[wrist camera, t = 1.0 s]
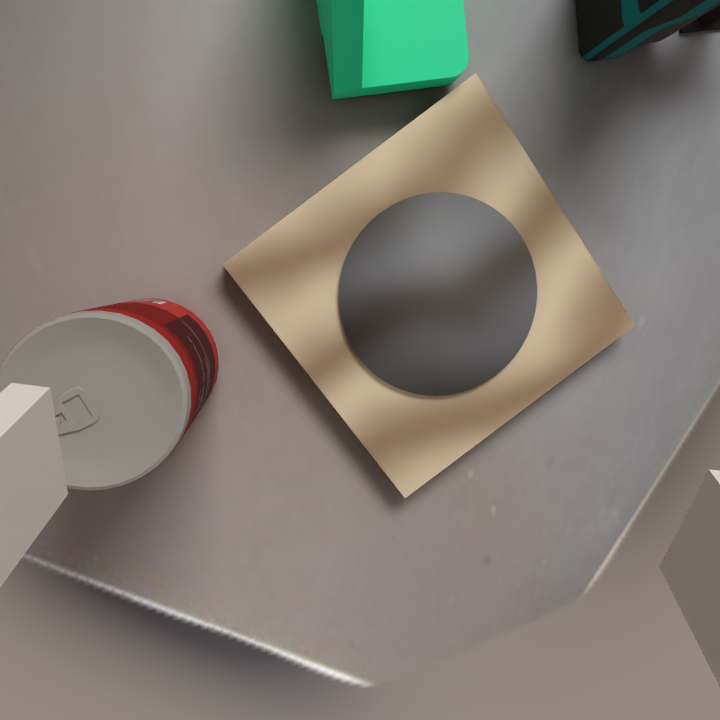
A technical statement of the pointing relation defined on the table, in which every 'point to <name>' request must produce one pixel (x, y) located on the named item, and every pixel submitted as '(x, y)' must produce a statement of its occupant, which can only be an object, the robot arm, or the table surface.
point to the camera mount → (392, 44)
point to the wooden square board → (433, 288)
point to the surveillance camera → (638, 23)
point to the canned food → (118, 385)
